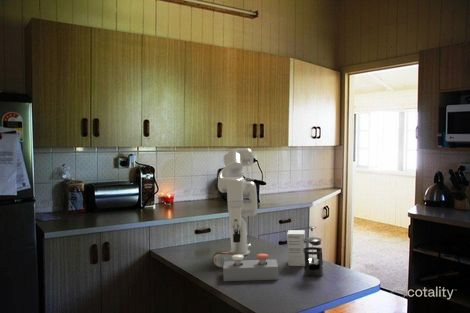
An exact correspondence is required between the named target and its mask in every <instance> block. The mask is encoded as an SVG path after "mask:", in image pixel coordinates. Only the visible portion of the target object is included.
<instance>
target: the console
mask: <svg viewBox="0 0 470 313" xmlns="http://www.w3.org/2000/svg"><path fill="white" fill-rule="evenodd" d="M222 272H223V274H222V276H223V282H233V281H234V282H235V281H237V282H241V281H243V282H244V281H264V280H265V281H267V280H270V281H271V280H279V279H280V278H279V265H278V262H277V259H275V258H274V259H273V258H272V259H266V265H260V264H259V259H249V260H247V259H246V260H244V259H242V260H241V266H235V261H225V262H224V266H223V268H222Z"/></svg>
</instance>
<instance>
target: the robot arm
mask: <svg viewBox="0 0 470 313" xmlns="http://www.w3.org/2000/svg"><path fill="white" fill-rule="evenodd" d="M223 162H224V167H222V169H221V170H220V172H219V173H218V177H217V188H218V191H219V192H220V193H227V194H226V195H227V211H228V216H229V217H228V218H229V224H230V225H229V226H230V228H229V230H230V246H231V247H230V250H229V251H228V252H235V253H237V254H238V255H243V256H247V255H250V253H251V250H250V249H249V248H251V247H252V244H251V243H248V238H247V236H248V234H247V222H246V221H245V219H244V218H243V217H253V216H254V217H255V216H256V215H257V214H258V209H259V208H258V194H257V191H258V190H257V186H256V183H255V182H254V181H247V180H246V178H244V173H243V170H244V167H251V166H253V164H254V153H253V151H252V149H250V148H247V147H245V148H232V149H230V150H229V151H228V152H227V153H225V154H224V155H223ZM244 198H245V199H244ZM246 198H248V199H246Z"/></svg>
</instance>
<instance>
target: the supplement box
mask: <svg viewBox="0 0 470 313" xmlns="http://www.w3.org/2000/svg"><path fill="white" fill-rule="evenodd" d="M304 238H306V230H305V229H300V230H299V229H297V230H296V229H293V230H292V229H291V230H289V229H288V230H287V233H286V243H287V244H286V245H287V266H289V267H290V266H292V267H293V266H294V267H297V266H299V267H304V266H305V261H304V260H305V253H304V252H303V249H304V248H307V247H306V243H304V241H303V239H304Z"/></svg>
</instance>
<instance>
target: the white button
mask: <svg viewBox="0 0 470 313" xmlns="http://www.w3.org/2000/svg"><path fill="white" fill-rule="evenodd" d="M244 256H245V255H244ZM244 256H243V255H233V256H232V259H233V260H235V266H241V261H243V260H244Z"/></svg>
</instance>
